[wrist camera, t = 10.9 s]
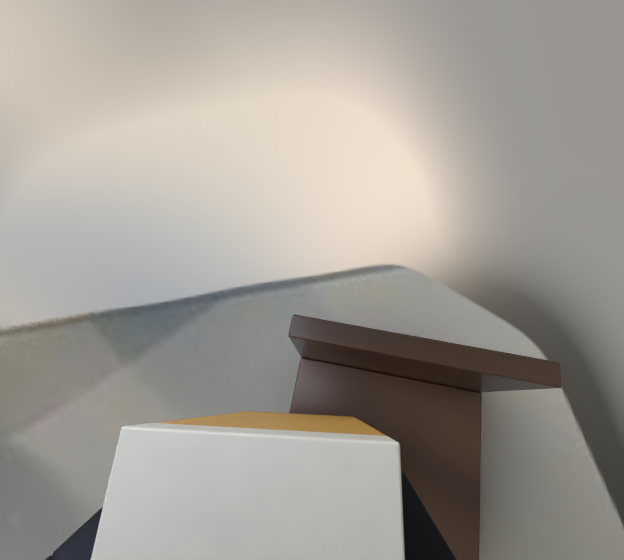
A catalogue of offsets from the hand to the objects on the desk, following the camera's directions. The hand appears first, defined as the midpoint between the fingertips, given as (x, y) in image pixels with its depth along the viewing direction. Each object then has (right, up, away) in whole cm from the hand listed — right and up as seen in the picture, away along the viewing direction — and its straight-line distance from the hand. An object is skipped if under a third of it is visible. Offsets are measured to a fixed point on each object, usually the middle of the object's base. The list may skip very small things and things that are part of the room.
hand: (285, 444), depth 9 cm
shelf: (+5, -6, +11) cm, 14 cm away
